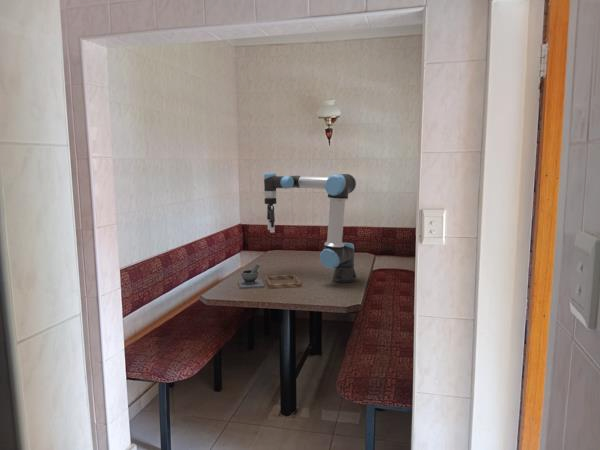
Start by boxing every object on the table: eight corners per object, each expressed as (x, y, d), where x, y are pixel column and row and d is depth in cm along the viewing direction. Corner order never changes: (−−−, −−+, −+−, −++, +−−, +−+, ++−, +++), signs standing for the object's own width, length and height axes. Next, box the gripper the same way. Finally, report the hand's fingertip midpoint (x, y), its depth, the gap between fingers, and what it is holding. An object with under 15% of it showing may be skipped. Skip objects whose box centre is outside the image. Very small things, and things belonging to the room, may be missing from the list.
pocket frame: (295, 277, 289) (295, 274, 289) (301, 286, 268) (301, 283, 267) (265, 279, 286) (264, 276, 286) (269, 288, 264) (269, 285, 264)
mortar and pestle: (240, 285, 269) (239, 264, 267) (242, 281, 278) (242, 261, 276) (259, 285, 268) (259, 264, 267) (261, 281, 278) (260, 261, 276)
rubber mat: (261, 280, 282) (261, 279, 282) (264, 287, 267) (264, 285, 267) (238, 282, 280) (238, 280, 280) (239, 288, 264) (239, 287, 264)
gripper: (262, 196, 302) (263, 228, 304) (266, 199, 278) (267, 234, 280) (273, 196, 303) (274, 228, 306) (279, 198, 279) (279, 233, 281)
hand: (271, 231), depth 293 cm, fingers open, 13 cm apart
